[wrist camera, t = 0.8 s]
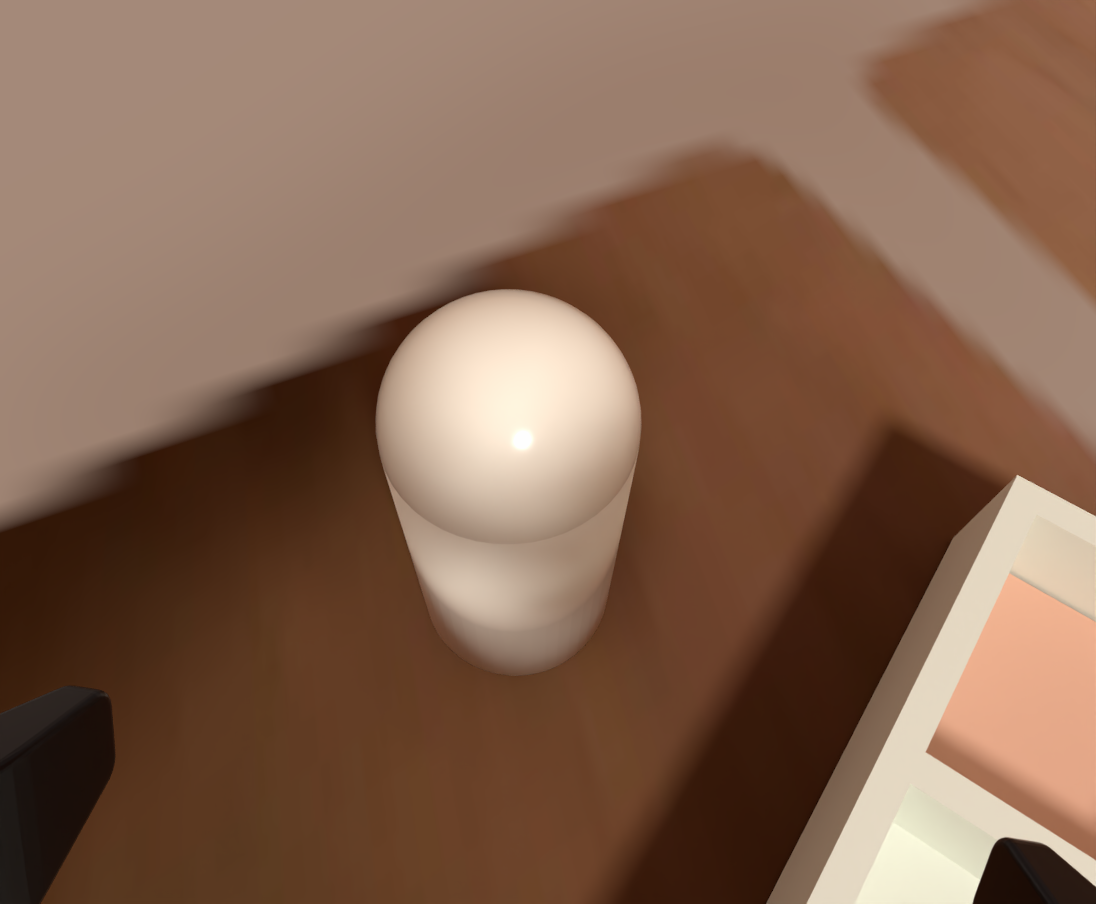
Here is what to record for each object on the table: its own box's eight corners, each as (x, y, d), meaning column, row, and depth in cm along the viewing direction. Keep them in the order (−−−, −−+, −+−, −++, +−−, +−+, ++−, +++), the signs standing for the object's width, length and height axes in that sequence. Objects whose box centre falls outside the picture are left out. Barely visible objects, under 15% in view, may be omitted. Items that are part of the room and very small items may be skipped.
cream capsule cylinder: (538, 713, 24) (543, 538, 14) (387, 606, 25) (289, 375, 15) (642, 564, 26) (711, 316, 16) (497, 472, 27) (476, 191, 17)
